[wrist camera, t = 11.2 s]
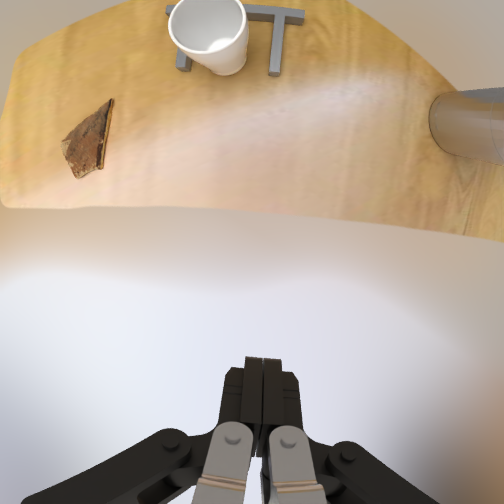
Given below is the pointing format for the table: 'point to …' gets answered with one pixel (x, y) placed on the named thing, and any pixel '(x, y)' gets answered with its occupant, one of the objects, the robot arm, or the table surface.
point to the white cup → (211, 33)
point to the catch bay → (258, 14)
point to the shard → (88, 142)
